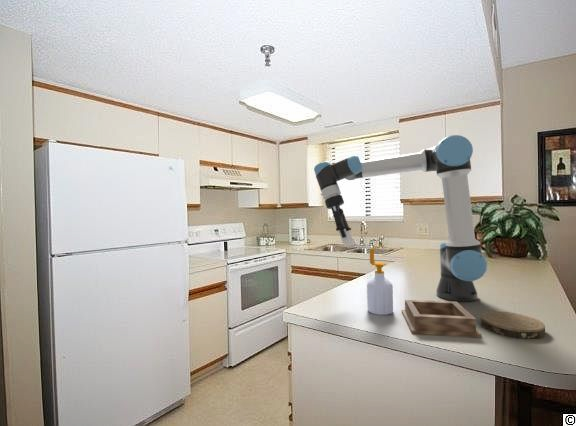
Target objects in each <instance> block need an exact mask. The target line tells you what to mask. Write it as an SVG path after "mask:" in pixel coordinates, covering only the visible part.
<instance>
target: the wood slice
mask: <svg viewBox="0 0 576 426" xmlns="http://www.w3.org/2000/svg"><path fill="white" fill-rule="evenodd" d="M480 325H481V327H482V328H483V329H485V330H486V331H488V332H489V333H493V334H496V335H499V336H502V337H506V338H512V339H517V340H528V341H531V340H532V341H533V340H541V339H543V338H544V337H545V336H546V325H545V323H544V322H543V321H540V320H539V319H538V318H536V317H535V318H534V317H532V316H528V315H525V314H521V313H516V312H509V311H498V310H497V311H495V310H494V311H486V312H483V313H480Z"/></svg>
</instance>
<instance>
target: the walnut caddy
mask: <svg viewBox="0 0 576 426" xmlns="http://www.w3.org/2000/svg"><path fill="white" fill-rule="evenodd" d="M401 314H402V316H403V318H404V320H405V322H406V324H407V326H408V329H409V330H410V333H411V334H412V335H428V336H429V335H430V336H431V335H432V336H446V337H447V336H448V337H461V338H462V337H463V338H464V337H467V338H479V339H480V338H481V339H482V337H483V335H482V333H481V332H480V331H479V330H478V329H477V318H475V317H474V316H473V315H472V314H471V313H470V312H469V311H468V310H467V309H465V308H464V307H463V306H462V305H461V304H460V303H459V301H453V300H426V299H425V300H424V299H423V300H422V299H420V300H419V299H404V309H401Z"/></svg>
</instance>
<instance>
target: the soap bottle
mask: <svg viewBox="0 0 576 426" xmlns="http://www.w3.org/2000/svg"><path fill="white" fill-rule="evenodd" d="M384 246H385V244H383V245H382V244H381V245H379V246H378V245H377V246H375V247H373V248H371V249H370V250H369V264H371V266H375V268H376V270H374V277H372V278H371V279H369V280H368V282H367V285H366V295H367V296H366V297H367V298H366V299H367V305H366V306H367V311H368V312H369V313H371V314H374V315H377V316H378V315H379V316H388V315H391V314H393V313H394V296H393V295H394V294H393V293H394V291H393V289H394V287H393V283H392V282H391V281H390V279H387V278H386V277H385V270H383V269H382V268H383V267H384V266H386V265H387V263H386V262H378V261H376V260H375V250H376V249H379V248H382V247H384Z"/></svg>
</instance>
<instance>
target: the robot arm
mask: <svg viewBox="0 0 576 426" xmlns="http://www.w3.org/2000/svg"><path fill="white" fill-rule="evenodd" d="M473 152H474V150H473V145H472V143H471V141H470V140H469V139H468V138H467V137H465V136H462V135H460V134H459V135H458V134H453V135H452V134H451V135H448V136H446V137H444V138H442V139H441V140H440V141H439V142H438V143H437V144H436V145H435V146H433V147H430V148H425V149H422V150H420V151H419V152H414V153H408V154H407V153H406V154H402V155H401V154H400V155H394V156H389V157H388V156H387V157H382V158H381V157H380V158H375V159H367V160H360V157H359V156H358V154H355V155H353V156H352V155H351V156H348V157H347V158H345V159H341V160H339V161H336V162H335V163H331V162H330V161H323V162H322V161H321V162H319V163H317V164H316V165H315V166H314V168H313V171H314V174H315V178H316V182H317V184H318V187H319V189H320V191H321V193H320V196H321V197H323V200H324V204H325V207H326V209H328V210H331V212H332V215H333V219H334V222H335V226H336V228H335V230H336V231H337V232H338V233H339V236H340V238H341V242H342V244H343V247H352V246H355V245H356V243H355V240H354V238H353V235H352V232H351V231H352V227H350V226H349V224H348V221H347V219H346V216H345V213H344V210H343V208H341V207H340V206H342V205H344V203H345V201H344V198H343V196H342V195H341V189H340V186H339V185H338V181H342V180H344V179H345V180H347V181H354V180H356V179H362V178H363V179H364V178H370V177H376V176H377V177H379V176H386V175H394V174H400V173H408V172H409V173H411V172H417V171H422V172H424V173H427V172H436V176H438V177H439V178H440V179H441V183H442V191H443V200H444V207H445V208H444V209H445V217H446V223H447V224H446V225H447V232H448V241H445V242H441V243H440V246H439V258H440V259H439V261H440V262H439V263H440V279H439V281H438V284H437V288H436V296H437V297H439V298H440V299H444V300H446V301H455V302H475V301H477V300H479V299H478V291H477V289H476V286H475V283H474V281H478V280H479V279H482V277H484V276H485V274H486V272H487V270H488V261H487V258H486V257H485V256H484V255H483V253H482V252H483V251H482V245H481V242H480V241H479V240H478V239H476V235H475V227H474V218H473V211H472V204H471V203H472V201H471V195H470V193H471V192H470V188H469V178H468V176H469V173H470V172H471V171H472V163H471V158H472V156H473Z"/></svg>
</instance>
